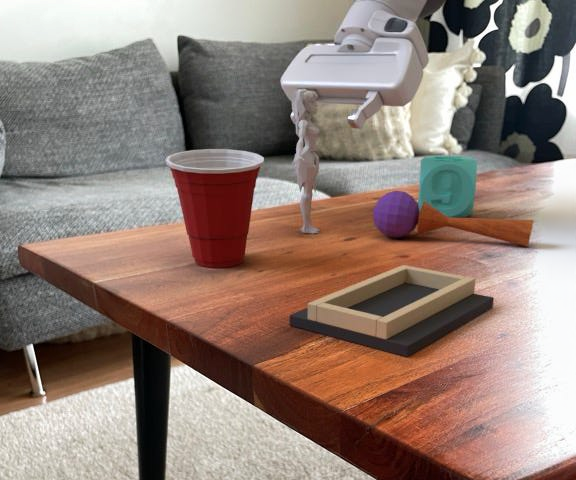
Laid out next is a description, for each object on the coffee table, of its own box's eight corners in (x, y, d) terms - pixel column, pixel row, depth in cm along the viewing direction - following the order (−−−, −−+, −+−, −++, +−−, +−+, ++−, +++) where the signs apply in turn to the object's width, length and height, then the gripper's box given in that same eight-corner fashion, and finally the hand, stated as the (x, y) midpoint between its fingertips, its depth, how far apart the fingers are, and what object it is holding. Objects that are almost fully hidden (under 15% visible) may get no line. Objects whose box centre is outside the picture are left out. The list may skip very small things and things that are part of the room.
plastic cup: (175, 277, 78) (167, 162, 73) (169, 253, 88) (162, 150, 83) (274, 271, 80) (272, 159, 75) (257, 248, 90) (255, 147, 85)
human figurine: (311, 242, 93) (312, 91, 85) (282, 240, 93) (281, 91, 86) (325, 223, 103) (328, 87, 96) (299, 222, 104) (300, 87, 97)
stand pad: (492, 307, 68) (496, 282, 67) (407, 357, 57) (409, 327, 56) (384, 284, 75) (386, 261, 74) (289, 325, 64) (289, 298, 63)
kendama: (534, 220, 86) (370, 197, 91) (524, 265, 89) (366, 241, 94) (537, 202, 90) (381, 181, 95) (527, 245, 94) (377, 223, 99)
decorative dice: (469, 209, 112) (474, 156, 109) (472, 219, 105) (478, 163, 102) (417, 207, 114) (421, 155, 110) (417, 217, 107) (421, 161, 103)
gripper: (298, 26, 102) (254, 103, 99) (426, 22, 90) (380, 109, 87) (316, 60, 107) (275, 134, 104) (440, 61, 95) (397, 144, 92)
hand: (324, 123), depth 96 cm, fingers open, 8 cm apart
